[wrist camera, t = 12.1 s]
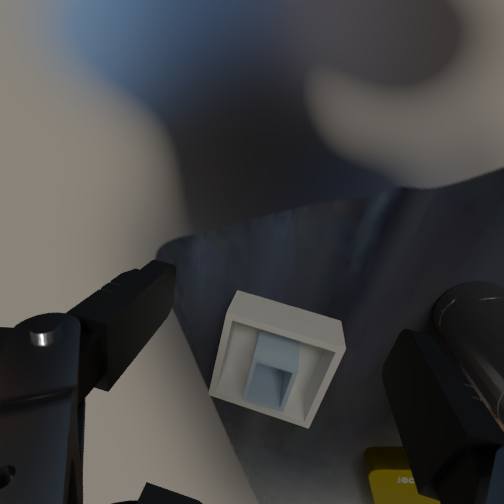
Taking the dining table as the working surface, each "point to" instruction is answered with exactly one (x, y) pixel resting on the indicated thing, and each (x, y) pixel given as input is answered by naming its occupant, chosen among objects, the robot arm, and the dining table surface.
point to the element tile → (392, 477)
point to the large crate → (288, 325)
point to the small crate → (272, 371)
